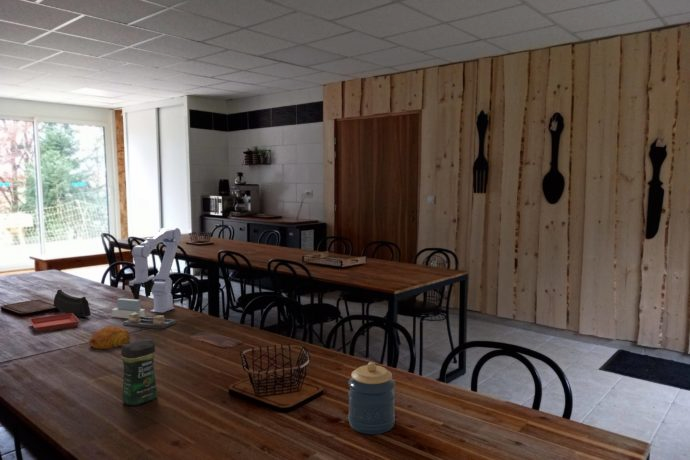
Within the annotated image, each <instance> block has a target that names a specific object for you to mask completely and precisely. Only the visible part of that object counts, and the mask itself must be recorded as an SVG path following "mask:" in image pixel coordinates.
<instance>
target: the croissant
mask: <svg viewBox="0 0 690 460" xmlns="http://www.w3.org/2000/svg"><path fill="white" fill-rule="evenodd" d="M130 340H131V334H130V333H129V332H128V330H127V329H125V328H123V327H121V326H114V325H113V326H112V325H108V326H105V327H102V328H101V329H99V330H97V331H96V332H95V333H93V334H92V335H91V337H90V338H89V340H88V343H89V345H90V346H91V347H93V348H95V349H97V350H98V349H99V350H100V349H101V350H102V349H104V350H105V349H106V350H110V349H114V348H118V347H122V346H123V345H124V344H128V343H130Z"/></svg>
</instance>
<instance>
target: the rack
mask: <svg viewBox="0 0 690 460" xmlns="http://www.w3.org/2000/svg"><path fill="white" fill-rule="evenodd" d="M164 321H165V324H163V325H155V324H153V317H149V316H146V317H142V316H140V323H137V322H128V319H126V320H124V321H123V323H122V325H123V326H130V327H136V328H137V327H140V328H147V329H155V330H156V329H157V330H163V329H166V328H168V327H171V326H172V325H175V324H176V319H167V318H164Z"/></svg>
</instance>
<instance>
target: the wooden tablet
mask: <svg viewBox="0 0 690 460" xmlns="http://www.w3.org/2000/svg"><path fill="white" fill-rule="evenodd" d="M189 337H190V339H193V340H196V341H199V342H202V341H203V342H202V343H206V344H210V345H213V346H215V347H217V348H222V349H231V348H232V347H235V346H240V345H242V344H243V343H244V341H242V340H240V339H238V338H237V339H236V338H232V337H229V336H226V335H225V336H224V335H220V334H216V333H212V332H207V331H200V332H197V333H195V334H192V335H190V336H189Z"/></svg>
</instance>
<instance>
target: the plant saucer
mask: <svg viewBox="0 0 690 460" xmlns="http://www.w3.org/2000/svg"><path fill="white" fill-rule="evenodd" d="M29 321H30V322H31V324H32V326H33V328H34V330H36V331H37V333H43V332H50V331H55V330H61V329H68V328H74V327H76V326H77V325H78V323H79V322H80V320H79V318H78V316H75V315H74V314H73V313H68V314H66V313H61V314H55V315H47V316H41V317H33V318H29Z"/></svg>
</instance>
